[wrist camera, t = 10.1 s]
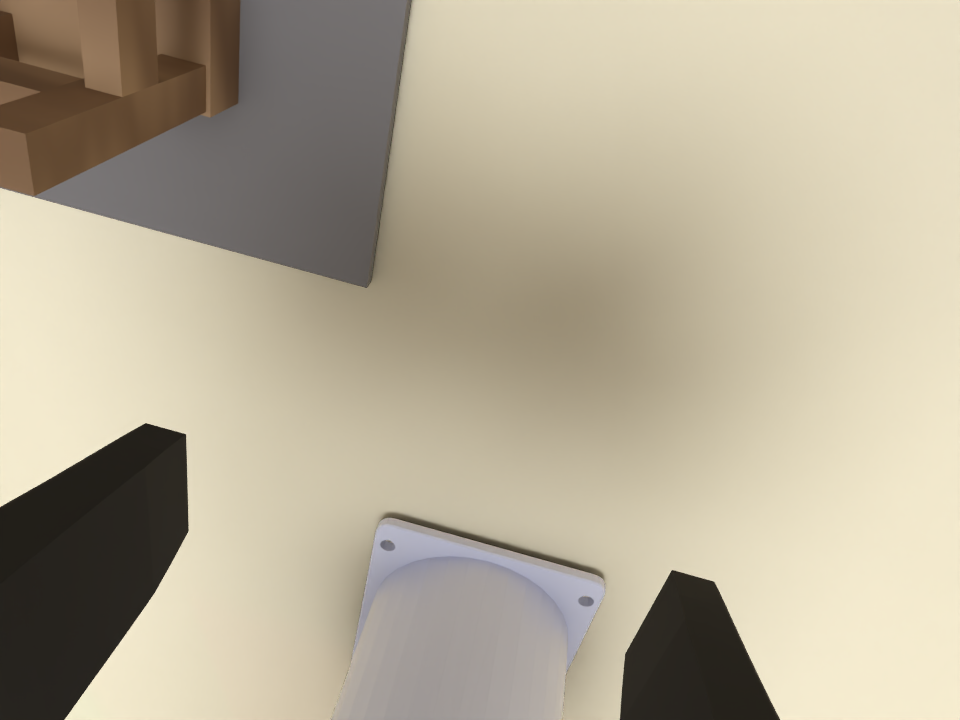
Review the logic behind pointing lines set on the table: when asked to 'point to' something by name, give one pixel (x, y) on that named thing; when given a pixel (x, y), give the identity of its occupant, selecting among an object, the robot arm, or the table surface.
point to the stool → (106, 79)
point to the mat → (276, 144)
